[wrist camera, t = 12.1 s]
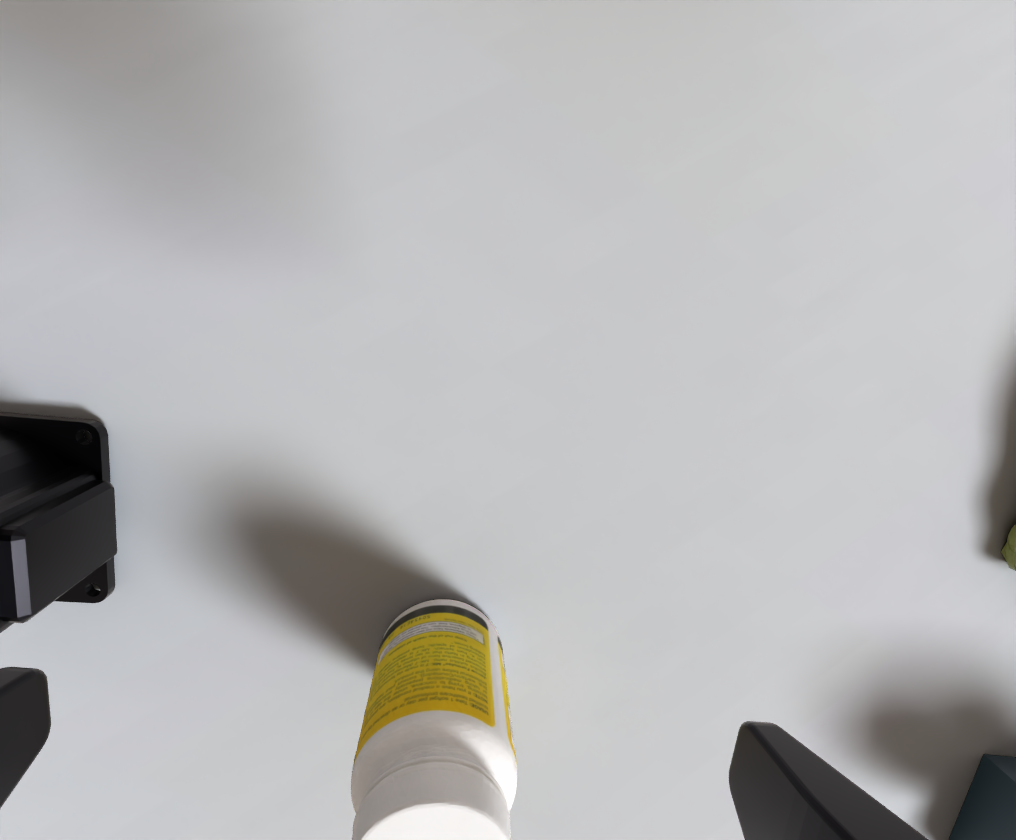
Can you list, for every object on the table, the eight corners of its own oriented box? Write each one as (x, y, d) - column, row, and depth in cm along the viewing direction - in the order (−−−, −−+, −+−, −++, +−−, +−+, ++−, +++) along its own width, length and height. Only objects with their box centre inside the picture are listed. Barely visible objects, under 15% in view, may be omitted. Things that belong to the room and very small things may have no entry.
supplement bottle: (355, 636, 21) (288, 854, 13) (459, 573, 21) (459, 753, 13) (425, 723, 22) (404, 975, 14) (524, 664, 22) (563, 883, 14)
